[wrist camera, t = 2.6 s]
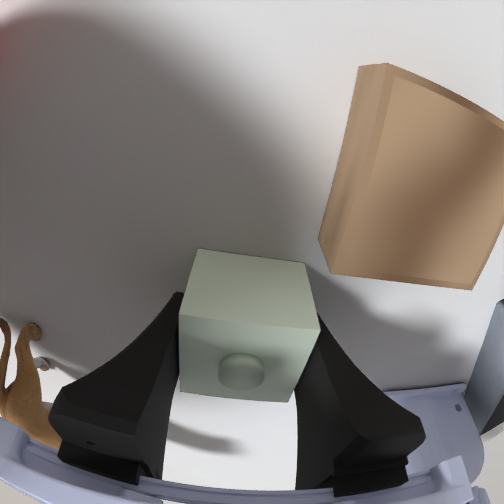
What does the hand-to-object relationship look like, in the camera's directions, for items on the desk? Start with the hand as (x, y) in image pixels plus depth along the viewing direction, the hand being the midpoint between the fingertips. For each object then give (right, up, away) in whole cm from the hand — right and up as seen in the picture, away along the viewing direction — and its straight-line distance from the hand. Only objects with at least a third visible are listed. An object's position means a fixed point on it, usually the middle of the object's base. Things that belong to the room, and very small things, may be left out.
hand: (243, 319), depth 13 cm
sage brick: (0, +1, +1) cm, 1 cm away
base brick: (+7, +6, -2) cm, 9 cm away
